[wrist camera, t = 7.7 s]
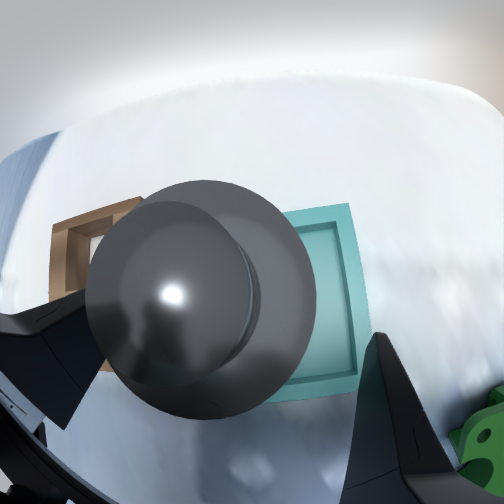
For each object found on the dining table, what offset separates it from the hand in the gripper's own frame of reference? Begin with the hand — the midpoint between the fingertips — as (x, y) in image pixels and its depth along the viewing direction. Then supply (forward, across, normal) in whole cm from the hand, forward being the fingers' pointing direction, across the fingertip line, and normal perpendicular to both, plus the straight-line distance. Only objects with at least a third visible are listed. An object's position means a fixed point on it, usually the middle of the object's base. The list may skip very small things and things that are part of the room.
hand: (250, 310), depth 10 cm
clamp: (0, -19, +12) cm, 23 cm away
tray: (+6, 0, +6) cm, 8 cm away
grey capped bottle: (+5, 0, +5) cm, 7 cm away
